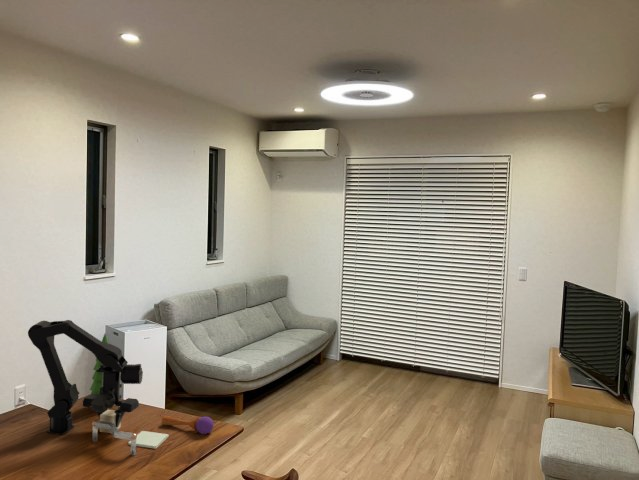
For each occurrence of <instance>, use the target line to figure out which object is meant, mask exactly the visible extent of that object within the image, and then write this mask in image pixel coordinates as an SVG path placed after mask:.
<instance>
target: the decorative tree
mask: <svg viewBox="0 0 639 480" xmlns="http://www.w3.org/2000/svg"><path fill="white" fill-rule="evenodd" d="M101 341H102V342H104V343H108V344H110V343H109V341H108V338H107V335H106V333H104V334H103V337H102V340H101ZM95 358H96V357H95ZM95 362H96V363H95V364H94V367H93V370H94V373H93V376H92V377H91V379H92V380H93V382H92V384H91V386H90V388H89V390H90V391H91V393H90V395H91V394H99V392H100V388H101V387H102V378H103V372H96V370H97V369H98V368H99V367H100V366H101V365H102V363H101V362H100V361H99V360H97V358H96V359H95ZM107 410H109V408H107Z"/></svg>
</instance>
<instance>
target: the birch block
mask: <svg viewBox="0 0 639 480" xmlns="http://www.w3.org/2000/svg"><path fill="white" fill-rule="evenodd" d="M116 410H117V409H116ZM116 410H114V409H107V411H105V412H104V413H102V414H101V415H100V419H99V421H105V422H112V423H114V424H115V425H116V414H115V412H114V411H116ZM121 426H122V425H121V422H120V424H119V426H118V427H117V429H118V430H119V429H120V428H121ZM99 432H100V433H107V434H112V433H111V431H110V430H109V429H105V428H99Z"/></svg>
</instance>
